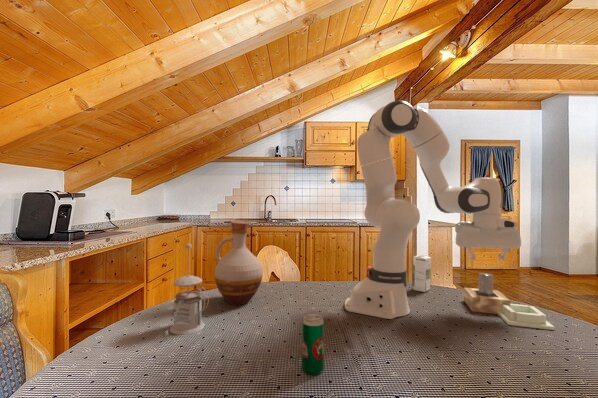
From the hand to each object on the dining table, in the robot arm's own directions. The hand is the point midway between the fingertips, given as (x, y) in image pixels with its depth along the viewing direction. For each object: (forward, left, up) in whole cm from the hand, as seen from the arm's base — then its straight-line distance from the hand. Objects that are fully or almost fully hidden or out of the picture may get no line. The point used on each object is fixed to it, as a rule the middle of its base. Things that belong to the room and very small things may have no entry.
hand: (487, 259), depth 107 cm
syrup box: (-20, +15, -18) cm, 31 cm away
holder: (+8, -9, -17) cm, 21 cm away
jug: (-89, -22, -18) cm, 94 cm away
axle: (0, 0, -17) cm, 17 cm away
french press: (-91, -47, -18) cm, 104 cm away
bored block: (0, 0, -17) cm, 17 cm away
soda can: (-51, -57, -18) cm, 79 cm away
